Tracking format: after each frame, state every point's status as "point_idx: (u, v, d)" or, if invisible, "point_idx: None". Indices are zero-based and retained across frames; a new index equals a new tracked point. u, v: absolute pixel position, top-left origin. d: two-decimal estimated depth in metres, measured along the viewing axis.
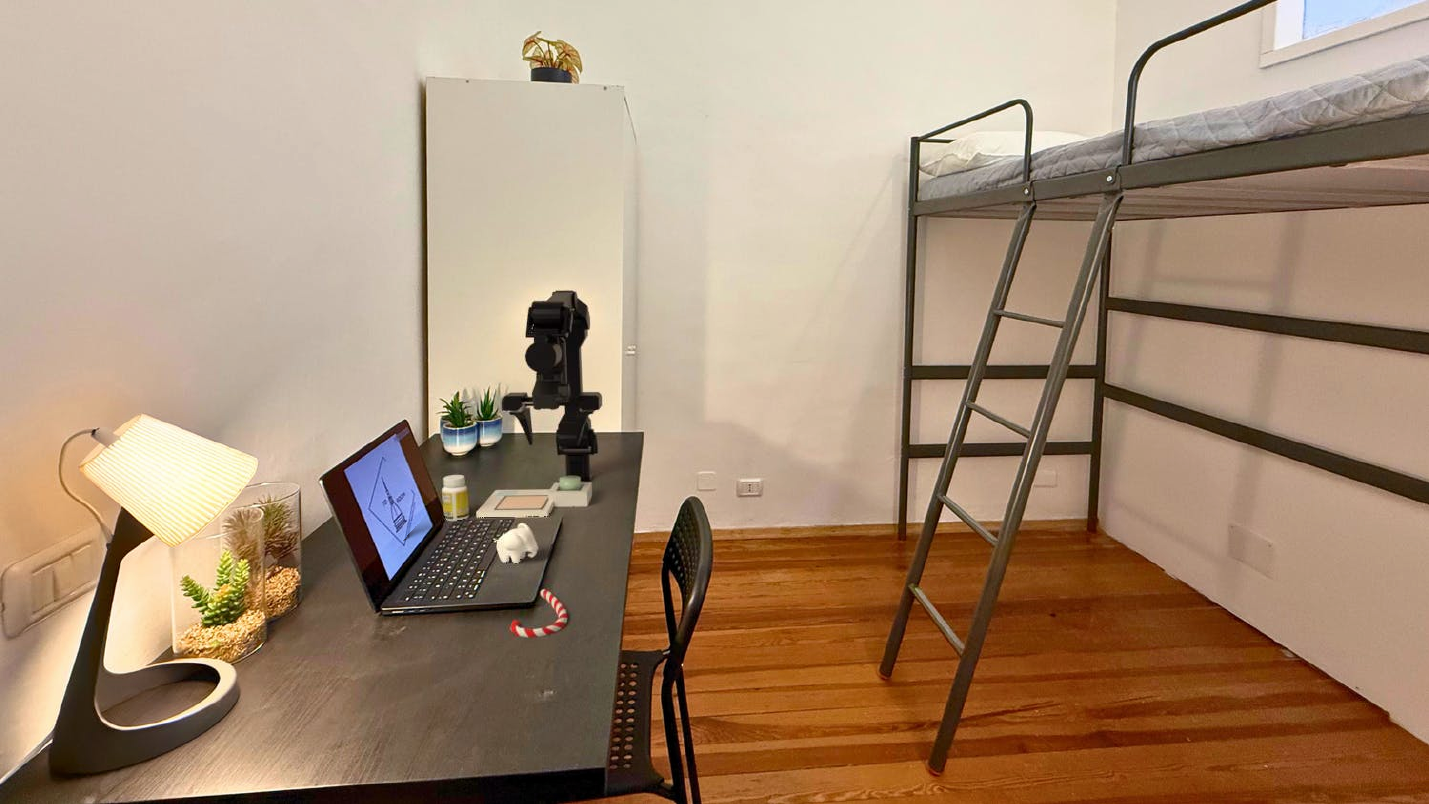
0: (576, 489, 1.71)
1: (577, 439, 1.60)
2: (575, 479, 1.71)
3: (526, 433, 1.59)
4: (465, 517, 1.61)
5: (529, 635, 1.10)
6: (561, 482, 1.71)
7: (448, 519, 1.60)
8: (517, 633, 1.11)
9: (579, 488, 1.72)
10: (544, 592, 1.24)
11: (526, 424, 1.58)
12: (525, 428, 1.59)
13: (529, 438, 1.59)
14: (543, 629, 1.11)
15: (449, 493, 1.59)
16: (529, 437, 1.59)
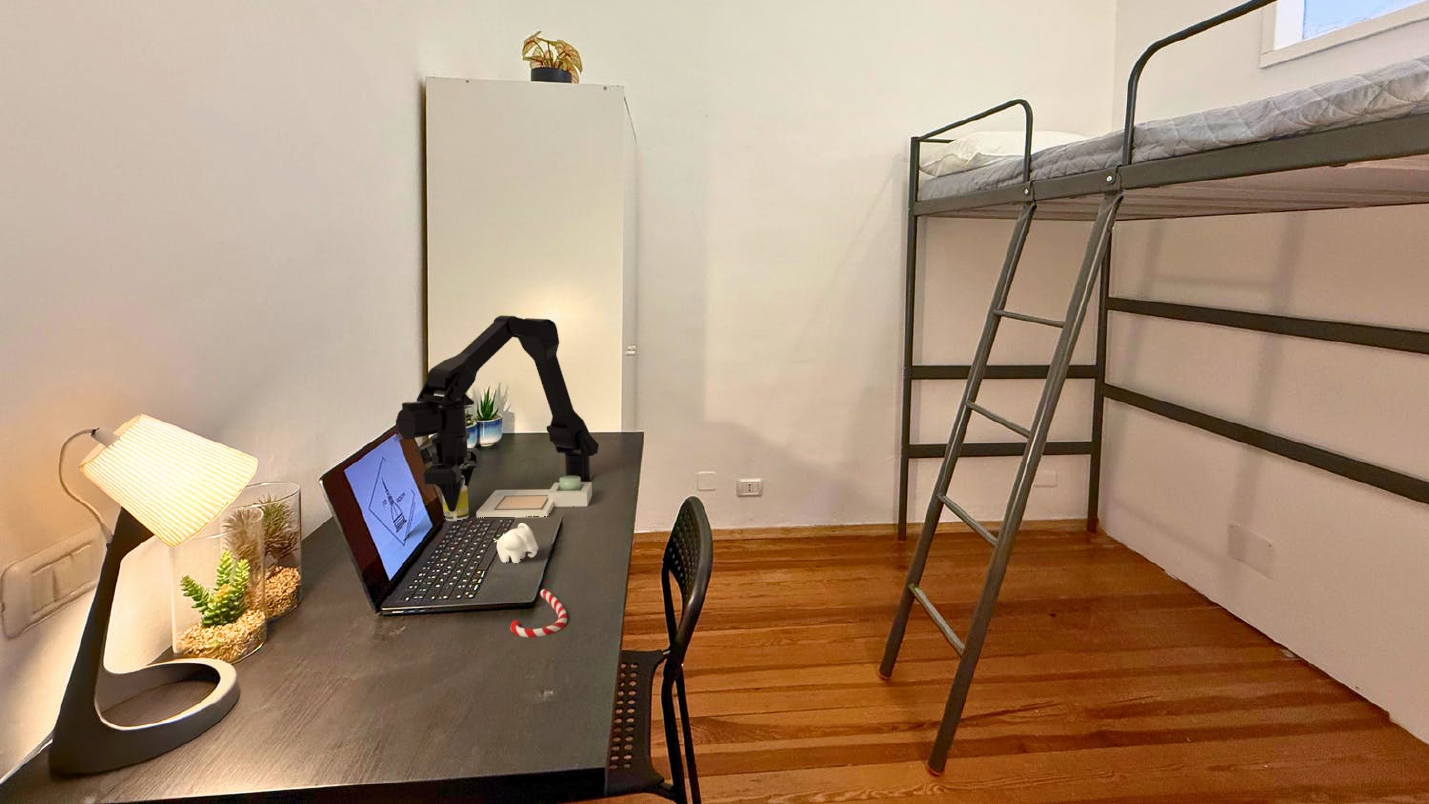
0: (576, 489, 1.71)
1: None
2: (575, 479, 1.71)
3: None
4: (465, 517, 1.61)
5: (529, 635, 1.10)
6: (561, 482, 1.71)
7: (448, 519, 1.60)
8: (517, 633, 1.11)
9: (579, 488, 1.72)
10: (544, 592, 1.24)
11: None
12: None
13: None
14: (543, 629, 1.11)
15: None
16: None
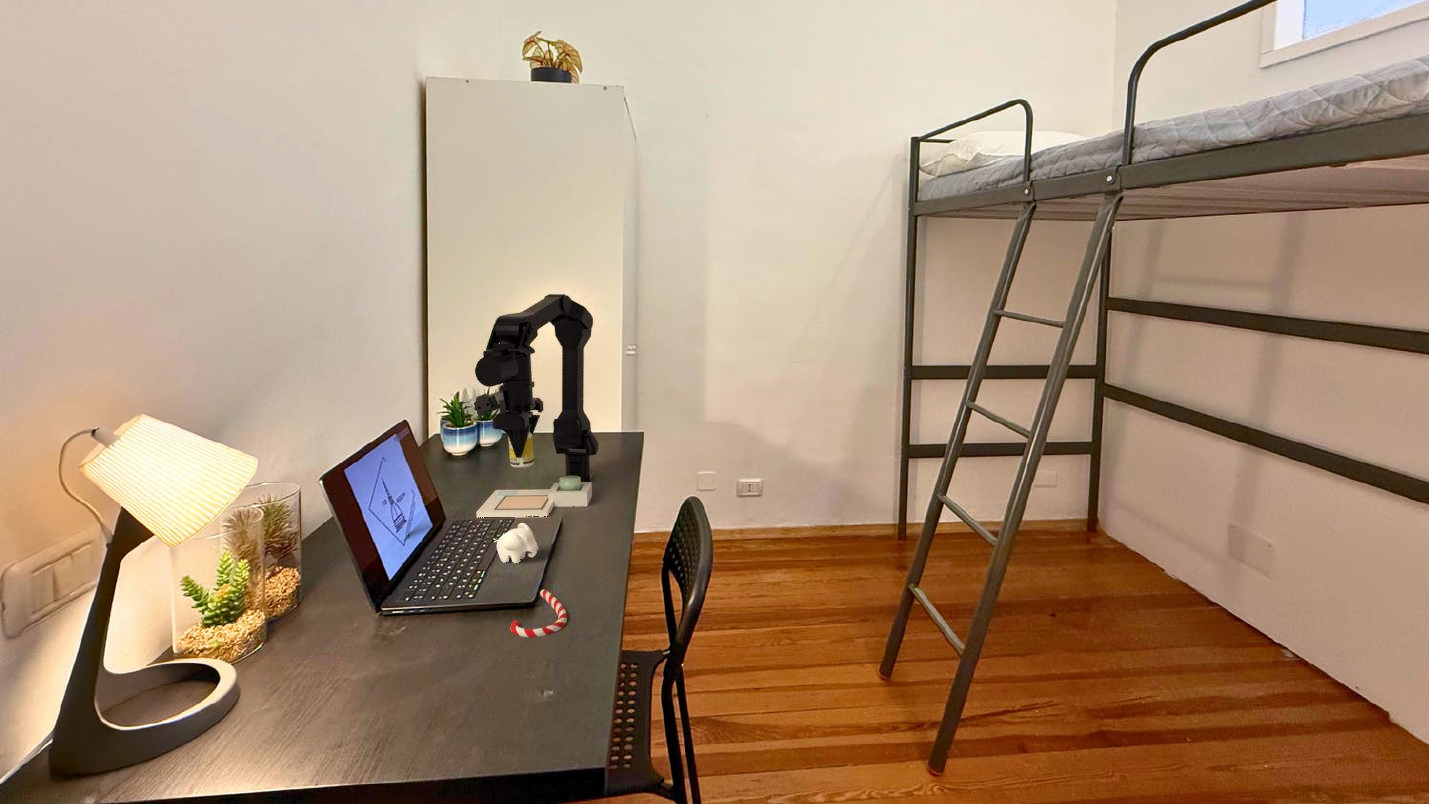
0: (576, 489, 1.71)
1: None
2: (575, 479, 1.71)
3: None
4: (531, 463, 1.65)
5: (529, 635, 1.10)
6: (561, 482, 1.71)
7: (515, 465, 1.64)
8: (517, 633, 1.11)
9: (579, 488, 1.72)
10: (543, 592, 1.24)
11: None
12: None
13: None
14: (543, 629, 1.11)
15: None
16: None
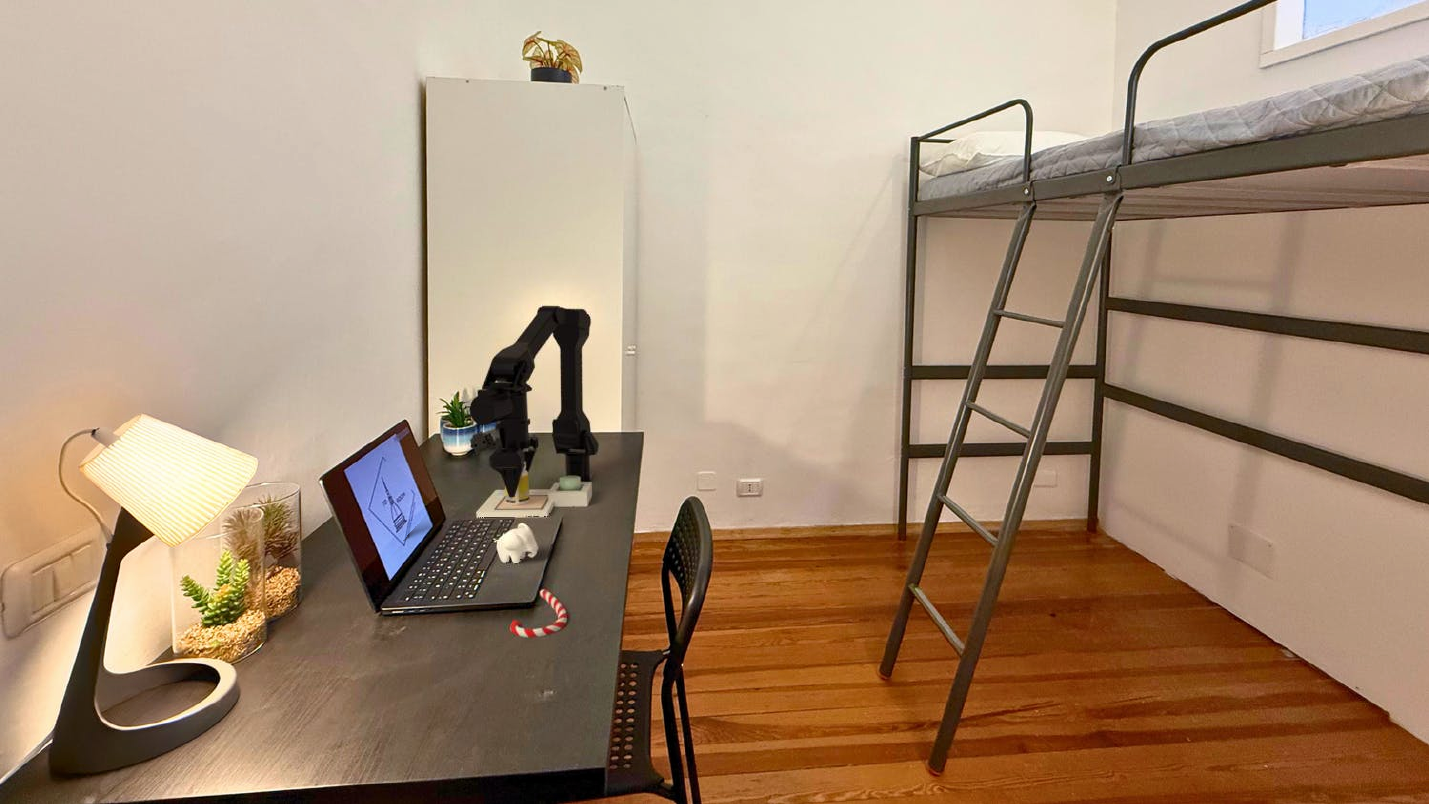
0: (576, 489, 1.71)
1: None
2: (575, 479, 1.71)
3: None
4: (526, 501, 1.67)
5: (529, 635, 1.10)
6: (561, 482, 1.71)
7: (510, 503, 1.66)
8: (517, 633, 1.11)
9: (579, 488, 1.72)
10: (543, 592, 1.24)
11: None
12: None
13: None
14: (543, 629, 1.11)
15: None
16: None
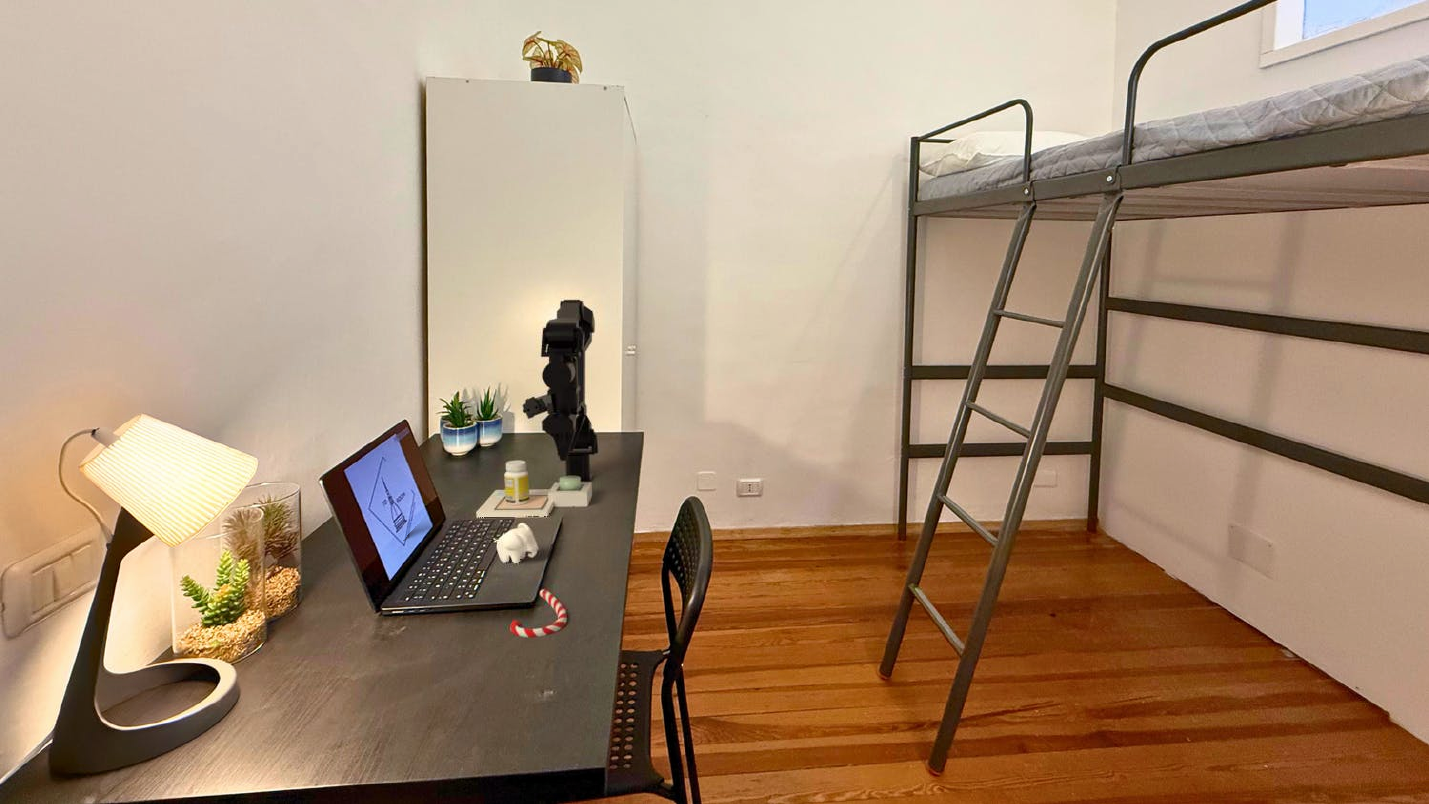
0: (576, 489, 1.71)
1: None
2: (575, 479, 1.71)
3: None
4: (526, 501, 1.67)
5: (529, 635, 1.10)
6: (561, 482, 1.71)
7: (510, 503, 1.66)
8: (517, 633, 1.11)
9: (579, 488, 1.72)
10: (543, 592, 1.24)
11: None
12: None
13: None
14: (543, 629, 1.11)
15: (512, 478, 1.65)
16: None
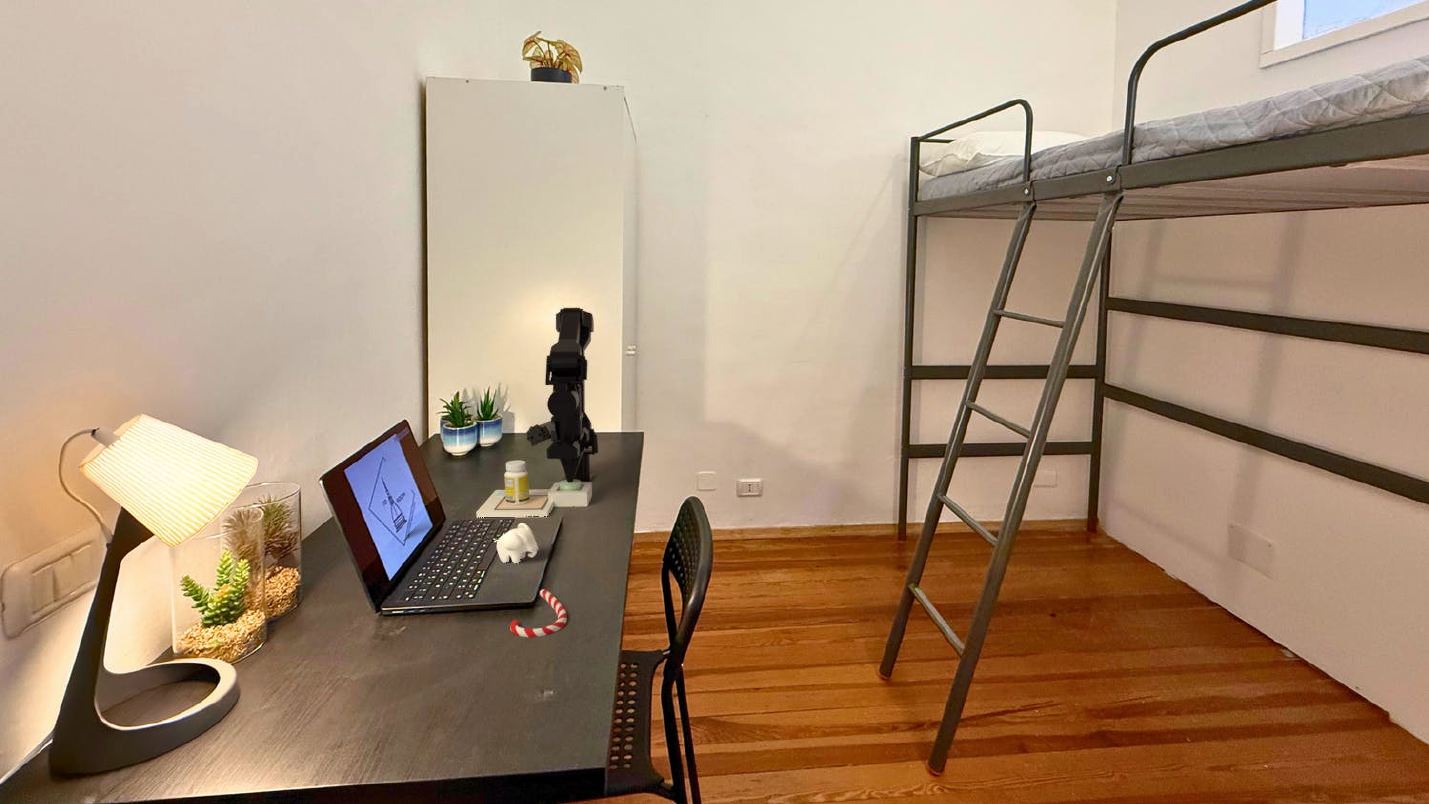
0: None
1: None
2: (575, 483, 1.72)
3: None
4: (526, 501, 1.67)
5: (529, 635, 1.10)
6: (562, 486, 1.71)
7: (510, 503, 1.66)
8: (517, 633, 1.11)
9: None
10: (543, 591, 1.24)
11: None
12: None
13: None
14: (543, 629, 1.11)
15: (512, 478, 1.65)
16: None
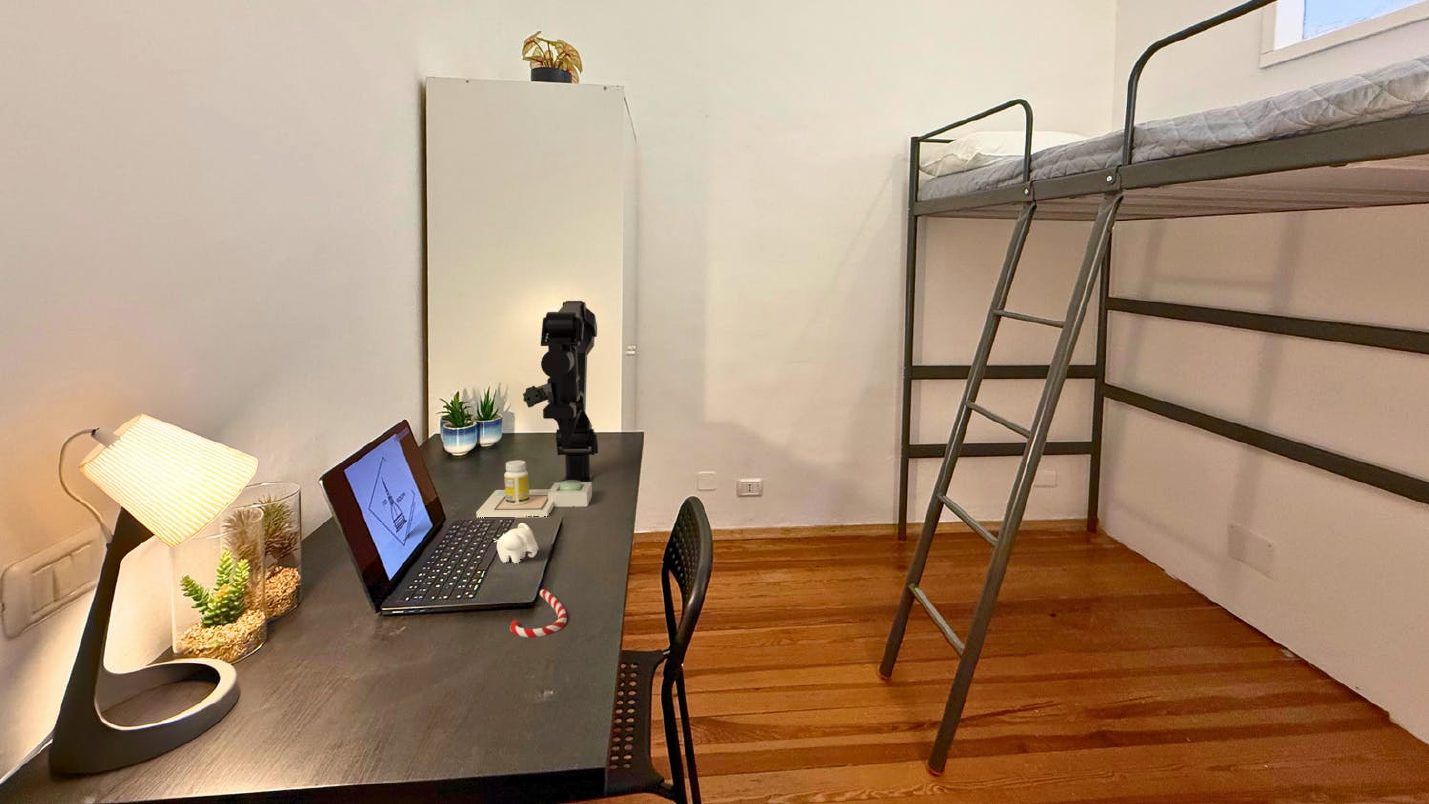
0: None
1: None
2: (575, 484, 1.72)
3: None
4: (526, 501, 1.67)
5: (529, 635, 1.10)
6: (562, 486, 1.71)
7: (510, 503, 1.66)
8: (517, 633, 1.11)
9: None
10: (543, 592, 1.24)
11: None
12: None
13: None
14: (543, 629, 1.11)
15: (512, 478, 1.65)
16: None
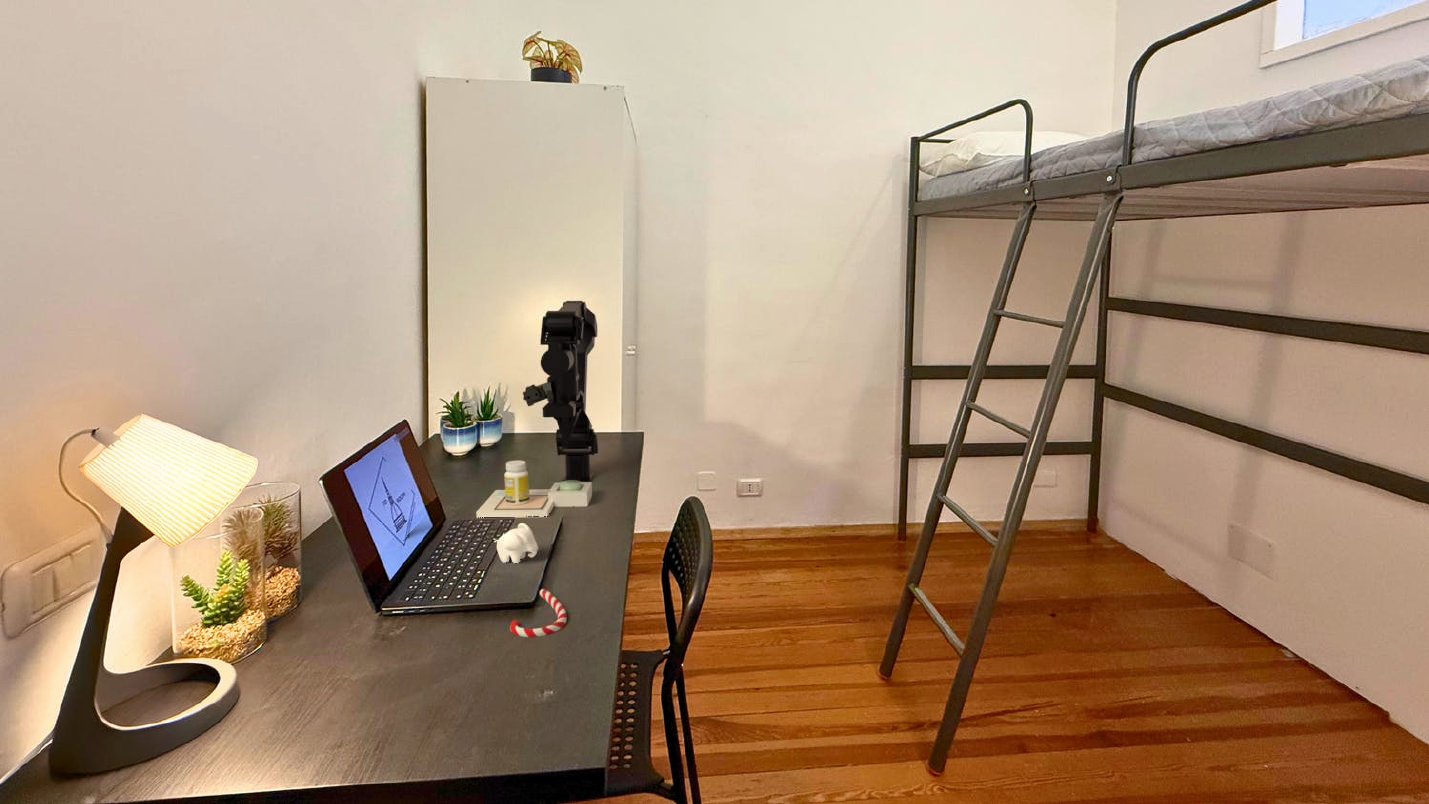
0: None
1: None
2: (575, 484, 1.72)
3: None
4: (526, 501, 1.67)
5: (529, 635, 1.10)
6: (562, 486, 1.71)
7: (510, 503, 1.66)
8: (517, 633, 1.11)
9: None
10: (543, 591, 1.24)
11: None
12: None
13: None
14: (543, 629, 1.11)
15: (512, 478, 1.65)
16: None
